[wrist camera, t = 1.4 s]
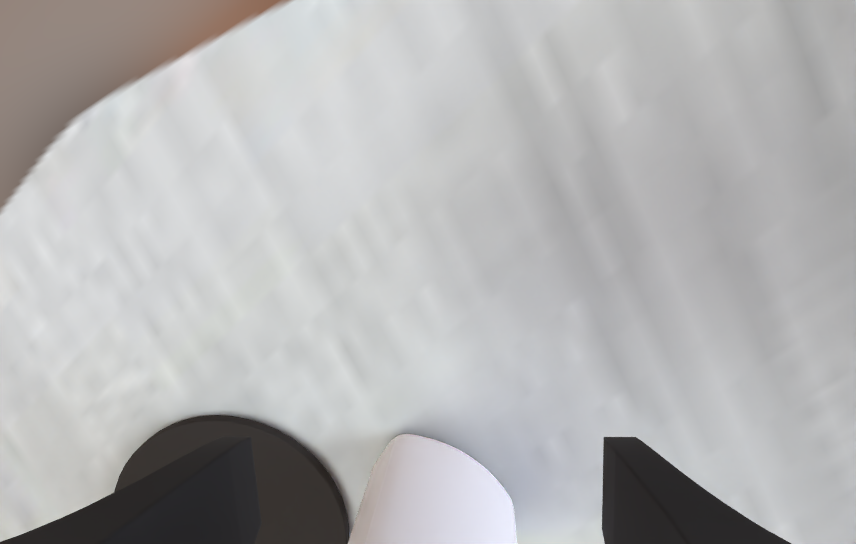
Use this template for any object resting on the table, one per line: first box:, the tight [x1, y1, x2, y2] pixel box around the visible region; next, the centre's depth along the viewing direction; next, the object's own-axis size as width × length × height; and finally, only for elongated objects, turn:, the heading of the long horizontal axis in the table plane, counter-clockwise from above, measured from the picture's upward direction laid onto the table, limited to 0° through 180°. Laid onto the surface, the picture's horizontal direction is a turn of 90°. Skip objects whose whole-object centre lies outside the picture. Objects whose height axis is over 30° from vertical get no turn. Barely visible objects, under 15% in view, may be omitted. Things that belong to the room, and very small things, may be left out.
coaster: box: [114, 415, 349, 544], centre depth 25 cm, size 10×10×1 cm
